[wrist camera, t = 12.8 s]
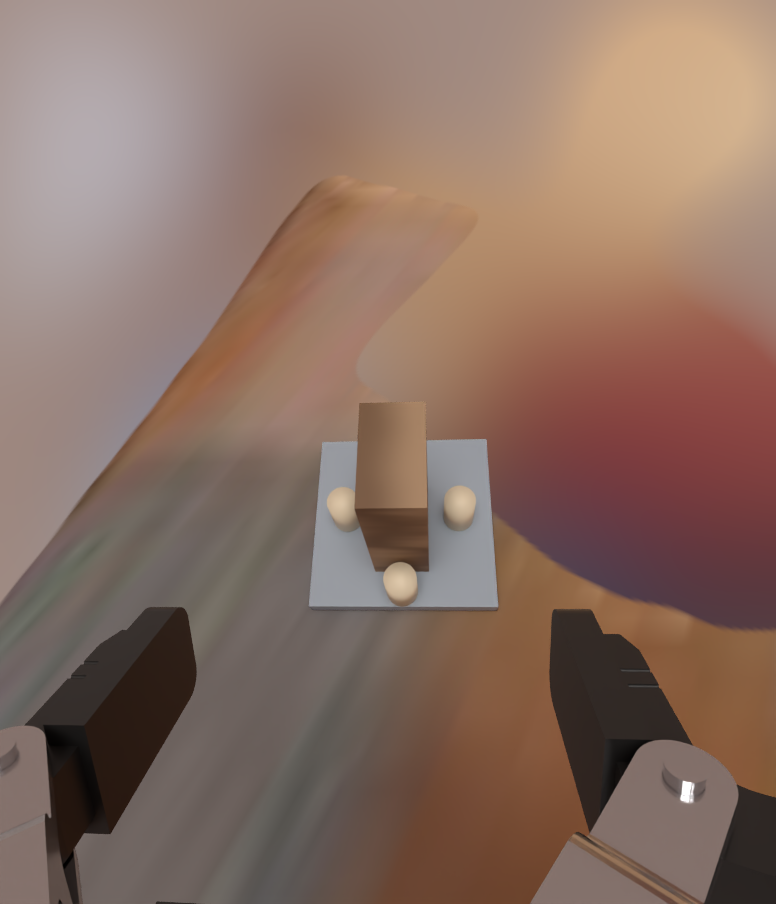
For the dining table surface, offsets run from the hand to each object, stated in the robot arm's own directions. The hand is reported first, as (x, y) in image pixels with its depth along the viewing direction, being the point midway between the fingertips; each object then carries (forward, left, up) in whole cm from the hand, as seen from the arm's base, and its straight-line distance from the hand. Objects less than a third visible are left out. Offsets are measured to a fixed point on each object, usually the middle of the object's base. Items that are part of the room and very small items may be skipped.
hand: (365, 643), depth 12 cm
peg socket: (0, -12, -24) cm, 27 cm away
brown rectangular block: (0, -11, -23) cm, 26 cm away
